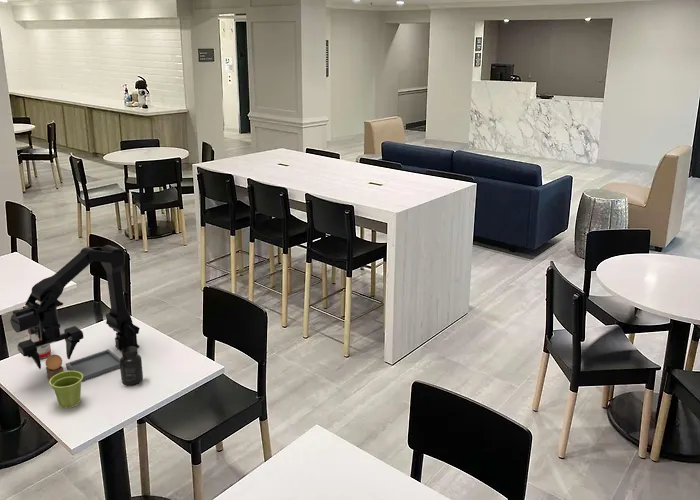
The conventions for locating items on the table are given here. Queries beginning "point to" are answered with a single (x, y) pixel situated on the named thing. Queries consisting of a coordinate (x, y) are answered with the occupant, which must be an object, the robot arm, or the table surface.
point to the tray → (95, 364)
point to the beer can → (43, 350)
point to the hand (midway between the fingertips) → (54, 363)
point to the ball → (53, 362)
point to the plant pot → (67, 387)
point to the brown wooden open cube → (53, 372)
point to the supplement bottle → (131, 366)
